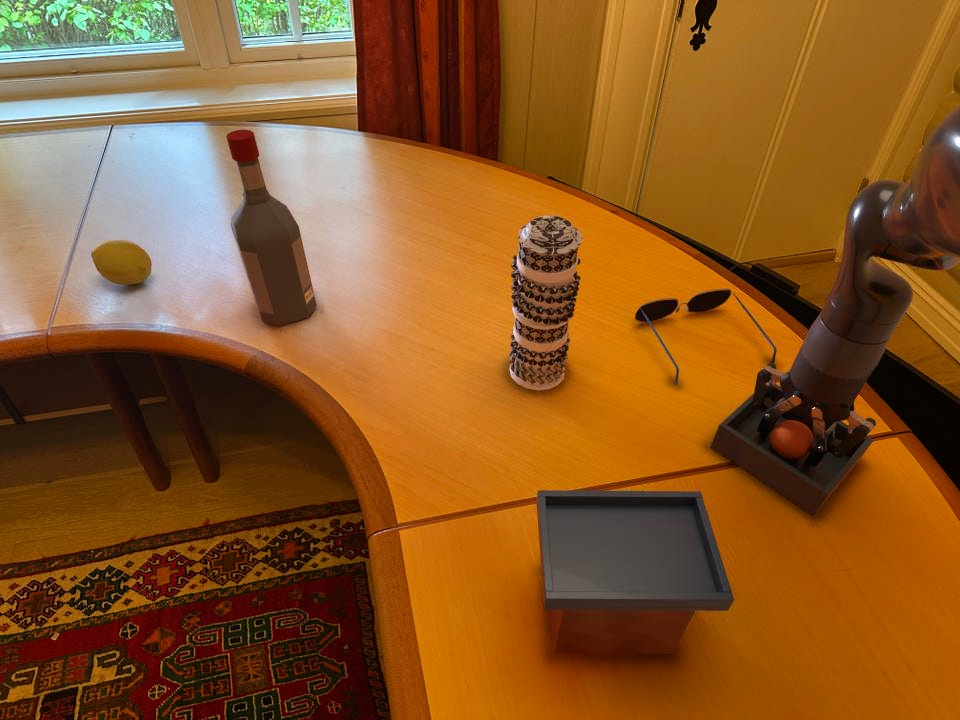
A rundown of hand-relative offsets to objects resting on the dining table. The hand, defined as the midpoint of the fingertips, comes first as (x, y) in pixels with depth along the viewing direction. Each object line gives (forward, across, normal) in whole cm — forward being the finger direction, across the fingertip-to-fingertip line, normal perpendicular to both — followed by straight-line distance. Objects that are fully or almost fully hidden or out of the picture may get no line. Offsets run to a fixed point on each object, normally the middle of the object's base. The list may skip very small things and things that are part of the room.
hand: (786, 448), depth 80 cm
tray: (-11, -2, -34) cm, 36 cm away
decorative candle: (+1, -33, -13) cm, 35 cm away
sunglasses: (+1, -20, +11) cm, 23 cm away
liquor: (+1, -72, -34) cm, 80 cm away
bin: (+1, 0, 0) cm, 1 cm away
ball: (-2, 0, 0) cm, 2 cm away
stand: (+1, -2, -34) cm, 34 cm away
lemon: (+1, -98, -51) cm, 110 cm away
